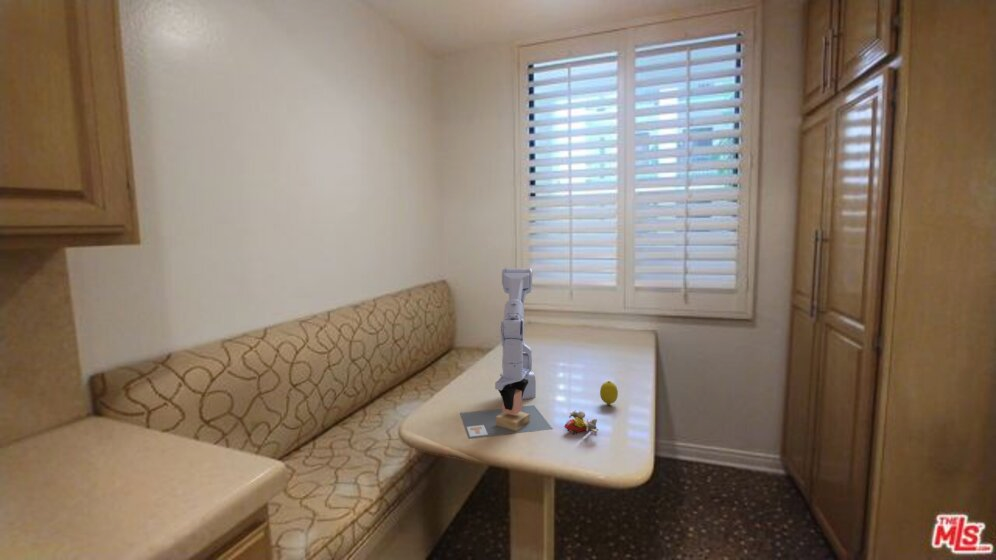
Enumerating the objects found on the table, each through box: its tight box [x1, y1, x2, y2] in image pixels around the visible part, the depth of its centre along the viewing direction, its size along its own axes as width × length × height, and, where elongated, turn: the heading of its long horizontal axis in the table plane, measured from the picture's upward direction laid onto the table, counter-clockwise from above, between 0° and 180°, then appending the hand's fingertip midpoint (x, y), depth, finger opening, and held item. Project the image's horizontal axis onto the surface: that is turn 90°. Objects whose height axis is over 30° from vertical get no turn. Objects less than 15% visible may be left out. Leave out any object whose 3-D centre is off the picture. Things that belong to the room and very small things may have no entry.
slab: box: [496, 411, 530, 431], centre depth 127 cm, size 7×7×2 cm
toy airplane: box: [563, 410, 599, 436], centre depth 123 cm, size 9×9×6 cm
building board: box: [459, 404, 554, 440], centre depth 129 cm, size 24×17×1 cm
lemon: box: [599, 380, 619, 406], centre depth 142 cm, size 6×6×8 cm
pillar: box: [502, 389, 523, 415], centre depth 127 cm, size 4×4×6 cm
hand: (512, 406), depth 127 cm, fingers closed on pillar, 4 cm apart
